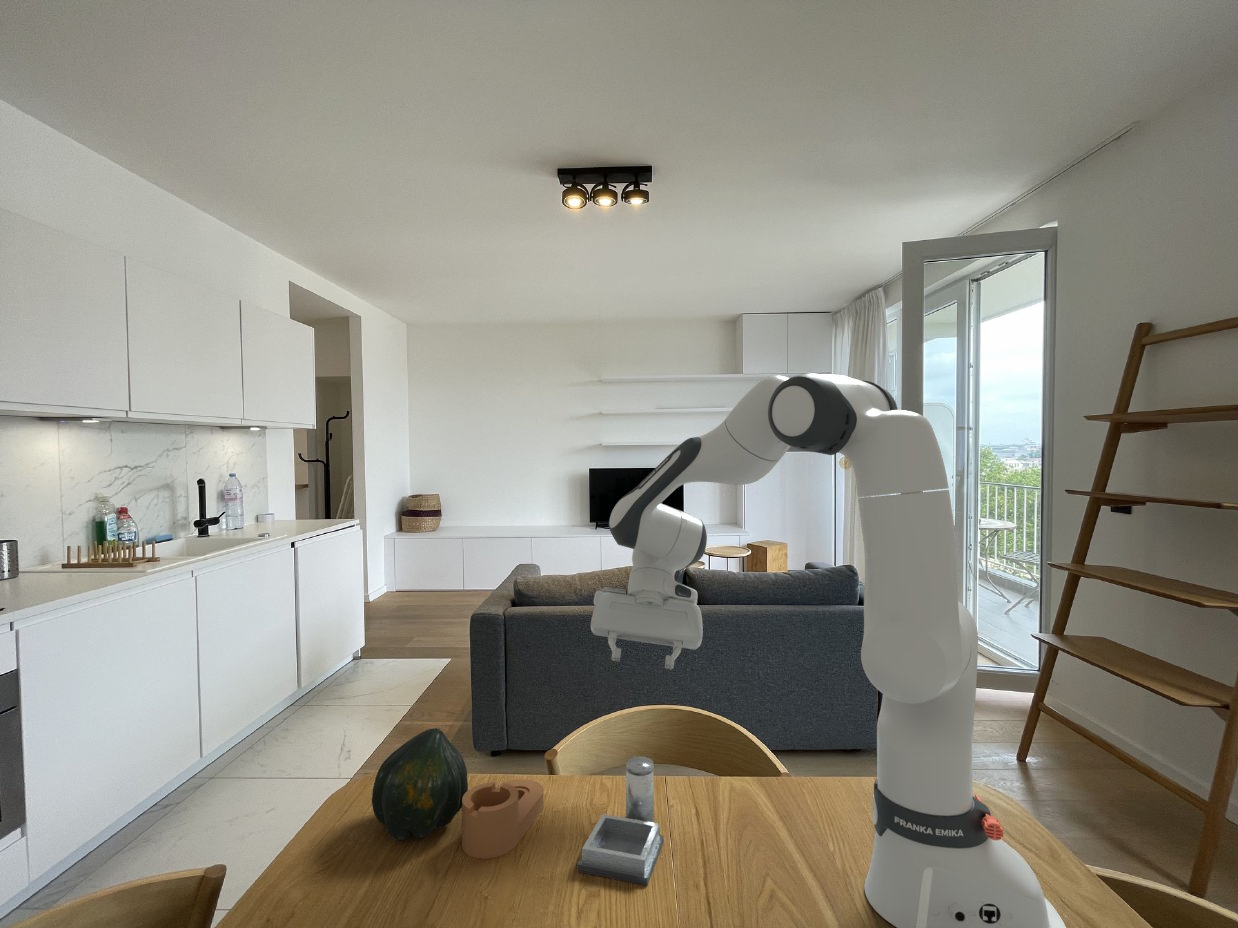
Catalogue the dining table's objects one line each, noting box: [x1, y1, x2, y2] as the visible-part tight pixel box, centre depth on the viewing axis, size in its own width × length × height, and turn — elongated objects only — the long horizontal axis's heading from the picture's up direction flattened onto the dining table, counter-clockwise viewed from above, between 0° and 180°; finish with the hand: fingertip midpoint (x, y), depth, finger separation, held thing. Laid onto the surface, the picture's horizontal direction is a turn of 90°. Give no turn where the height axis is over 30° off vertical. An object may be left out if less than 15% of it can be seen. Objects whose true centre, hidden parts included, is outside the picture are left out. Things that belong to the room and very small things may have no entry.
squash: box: [371, 727, 469, 841], centre depth 98 cm, size 14×15×15 cm
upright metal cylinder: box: [625, 755, 655, 823], centre depth 98 cm, size 4×4×9 cm
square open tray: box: [576, 813, 665, 886], centre depth 89 cm, size 10×10×3 cm
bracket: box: [461, 778, 545, 859], centre depth 97 cm, size 18×8×7 cm, turn 164°
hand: (642, 663), depth 107 cm, fingers open, 8 cm apart
